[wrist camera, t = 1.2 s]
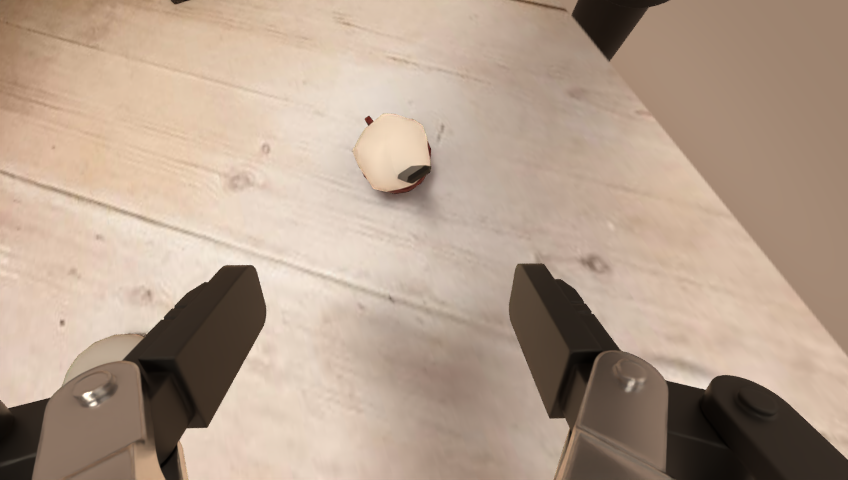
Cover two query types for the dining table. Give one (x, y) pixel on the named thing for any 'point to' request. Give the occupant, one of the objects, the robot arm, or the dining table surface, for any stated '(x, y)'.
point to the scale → (177, 1)
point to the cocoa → (393, 153)
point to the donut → (103, 353)
